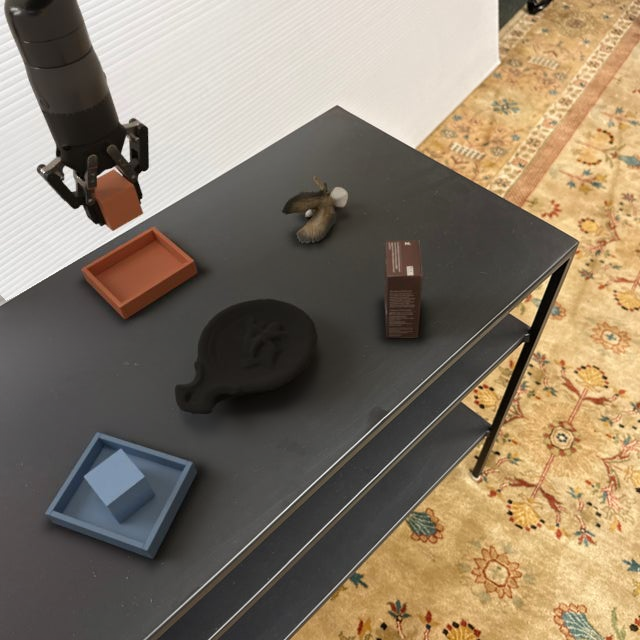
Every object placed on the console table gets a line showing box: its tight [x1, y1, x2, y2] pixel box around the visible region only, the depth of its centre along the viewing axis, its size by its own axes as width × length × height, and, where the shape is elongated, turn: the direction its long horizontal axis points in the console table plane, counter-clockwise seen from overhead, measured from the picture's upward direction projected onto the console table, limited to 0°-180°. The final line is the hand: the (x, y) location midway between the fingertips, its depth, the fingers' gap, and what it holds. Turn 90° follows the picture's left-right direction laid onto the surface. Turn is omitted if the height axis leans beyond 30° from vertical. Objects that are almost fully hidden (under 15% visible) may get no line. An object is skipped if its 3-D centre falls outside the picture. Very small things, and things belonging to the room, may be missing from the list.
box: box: [384, 239, 423, 339], centre depth 80 cm, size 6×4×12 cm
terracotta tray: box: [80, 226, 199, 320], centre depth 91 cm, size 12×10×2 cm
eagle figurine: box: [281, 175, 349, 244], centre depth 95 cm, size 8×7×9 cm
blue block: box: [84, 449, 155, 524], centre depth 69 cm, size 5×5×5 cm
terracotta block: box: [95, 168, 144, 232], centre depth 81 cm, size 5×5×5 cm
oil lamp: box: [174, 298, 319, 415], centre depth 79 cm, size 15×20×5 cm
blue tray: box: [44, 431, 198, 560], centre depth 70 cm, size 12×10×2 cm
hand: (117, 212), depth 82 cm, fingers closed on terracotta block, 4 cm apart
